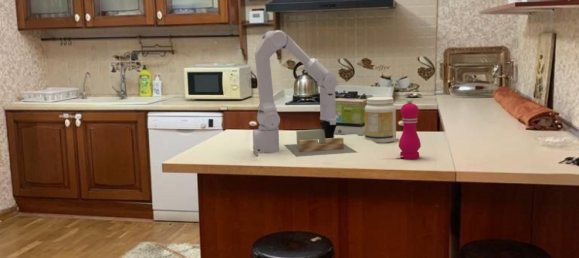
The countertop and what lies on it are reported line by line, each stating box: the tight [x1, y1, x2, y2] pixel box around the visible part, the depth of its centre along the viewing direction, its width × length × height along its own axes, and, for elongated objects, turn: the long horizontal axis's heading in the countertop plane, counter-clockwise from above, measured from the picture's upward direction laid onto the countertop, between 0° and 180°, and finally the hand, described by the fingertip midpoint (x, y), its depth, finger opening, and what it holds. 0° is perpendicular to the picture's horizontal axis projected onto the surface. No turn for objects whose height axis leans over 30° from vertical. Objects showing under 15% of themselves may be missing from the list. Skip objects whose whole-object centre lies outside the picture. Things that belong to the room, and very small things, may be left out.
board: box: [283, 142, 358, 158], centre depth 208 cm, size 22×23×1 cm
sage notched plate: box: [296, 128, 335, 147], centre depth 212 cm, size 14×2×6 cm, turn 101°
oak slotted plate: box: [299, 137, 345, 152], centre depth 204 cm, size 16×2×4 cm, turn 101°
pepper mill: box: [398, 98, 422, 161], centre depth 190 cm, size 7×7×20 cm
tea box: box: [334, 97, 368, 136], centre depth 244 cm, size 15×10×15 cm, turn 62°
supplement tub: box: [364, 96, 397, 144], centre depth 224 cm, size 12×12×17 cm
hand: (328, 141), depth 214 cm, fingers closed on sage notched plate, 2 cm apart
